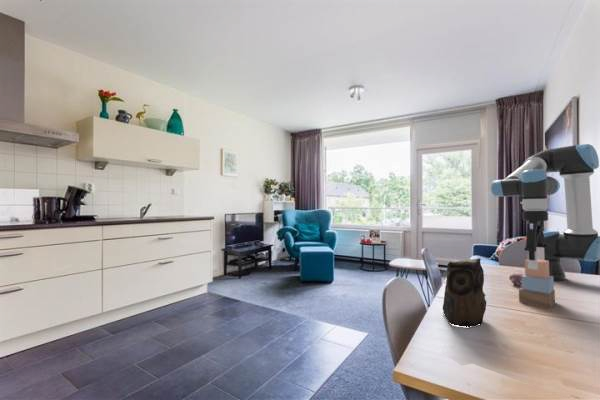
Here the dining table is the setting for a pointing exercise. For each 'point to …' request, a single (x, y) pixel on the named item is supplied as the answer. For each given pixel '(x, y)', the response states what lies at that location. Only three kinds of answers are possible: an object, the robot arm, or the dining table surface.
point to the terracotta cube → (542, 269)
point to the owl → (464, 293)
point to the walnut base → (537, 298)
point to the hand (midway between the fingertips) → (536, 266)
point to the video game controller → (516, 279)
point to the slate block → (538, 284)
